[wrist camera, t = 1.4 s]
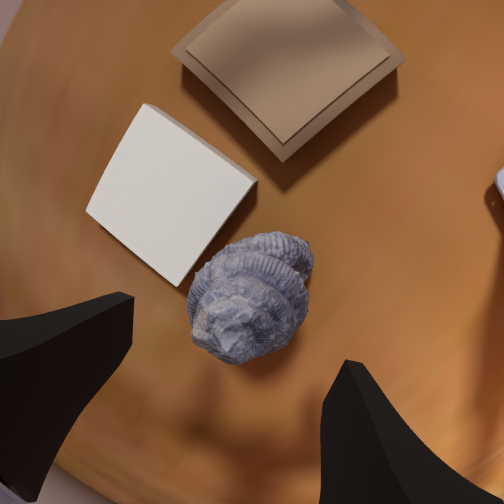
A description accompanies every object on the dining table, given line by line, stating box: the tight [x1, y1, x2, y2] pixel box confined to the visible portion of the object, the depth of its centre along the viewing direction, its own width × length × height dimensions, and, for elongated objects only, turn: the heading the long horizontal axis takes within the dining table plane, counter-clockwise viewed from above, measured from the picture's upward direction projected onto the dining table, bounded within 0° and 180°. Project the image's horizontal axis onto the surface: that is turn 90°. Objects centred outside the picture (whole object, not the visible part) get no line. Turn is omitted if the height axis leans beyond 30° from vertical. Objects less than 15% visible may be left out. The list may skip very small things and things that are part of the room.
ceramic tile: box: [86, 103, 258, 287], centre depth 19 cm, size 8×8×2 cm
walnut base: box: [170, 0, 406, 163], centre depth 15 cm, size 9×9×2 cm
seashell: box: [187, 231, 314, 365], centre depth 15 cm, size 5×5×10 cm
